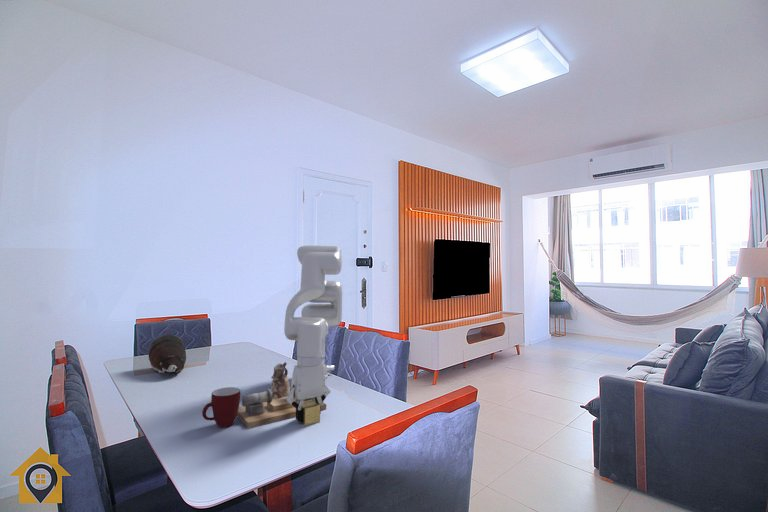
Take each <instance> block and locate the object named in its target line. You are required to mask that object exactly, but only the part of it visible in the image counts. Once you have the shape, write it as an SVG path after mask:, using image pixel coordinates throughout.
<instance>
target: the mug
mask: <svg viewBox="0 0 768 512" xmlns="http://www.w3.org/2000/svg"><path fill="white" fill-rule="evenodd" d="M210 400H211V401H210V402H209V403H207V404H205V405H204V406H203V408H202V412H201V414H202V417H203V419H204V420H206V421H214V422H215V424H216V425H217V426H218V427H219V428H221V429H224V428H229V427H231V426H232V425H234V422H235V420H236V419H237V417H238V416H237V413H238V408H239V407H240V402H241V389H240V388H239V387H232V386H231V387H228V386H227V387H221V388H217V389H215V390H213V391H212V392H211V399H210ZM209 408H211V409H212V417H210V416H207V410H208V409H209Z"/></svg>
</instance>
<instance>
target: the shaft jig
mask: <svg viewBox="0 0 768 512" xmlns="http://www.w3.org/2000/svg"><path fill="white" fill-rule="evenodd" d="M290 392H291V387H290ZM286 398H287V397H282V398H278V399H272V392H271V388H267V389H266V390H265V391H261V392H254V393H250V394H244V395H242V396H241V405H242V406H239V408H238V413H237V416H236V417H237V418H238V419H239V420H240V421H241V422H242V423H243V424H244V426H245V427H246V428H247V429H251V428H254V427H255V428H256V427H259V426H262V425H268V424H270V423H275V422H279V421H283V420H288V419H292V418H296V408H295V407H294V406H293V405H291V404H290V403H288V402H287V401H286ZM309 400H313V401H314V402H315V399H314V398H310V399H306V400H304V401H309ZM293 401H295V402H296V397H293ZM304 401H303V402H304ZM326 409H327V403H325V402H324V401H323V402H322V405H321V411H324V410H326Z"/></svg>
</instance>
